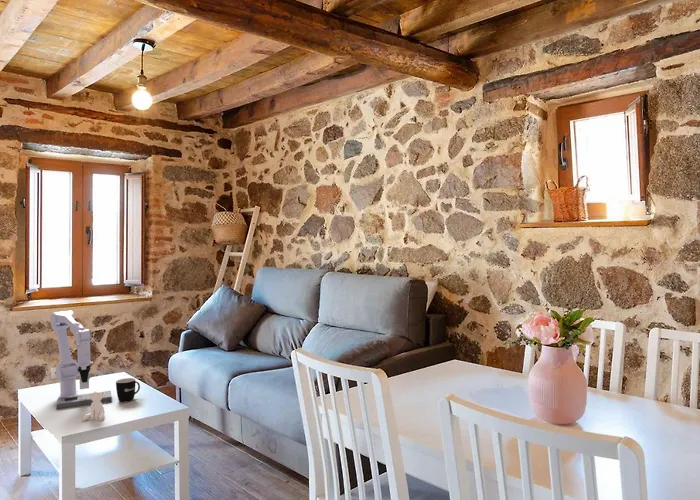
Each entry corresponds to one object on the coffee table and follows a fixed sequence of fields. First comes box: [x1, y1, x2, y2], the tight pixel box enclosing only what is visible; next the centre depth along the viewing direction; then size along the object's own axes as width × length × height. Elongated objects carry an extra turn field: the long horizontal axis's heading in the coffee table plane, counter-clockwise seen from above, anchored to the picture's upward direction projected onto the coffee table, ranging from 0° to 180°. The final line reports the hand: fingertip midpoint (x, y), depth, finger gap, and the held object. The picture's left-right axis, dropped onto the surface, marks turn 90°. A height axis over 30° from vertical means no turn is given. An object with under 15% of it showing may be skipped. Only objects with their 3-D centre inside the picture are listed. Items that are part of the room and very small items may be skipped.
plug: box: [78, 373, 91, 390], centre depth 262 cm, size 4×5×7 cm
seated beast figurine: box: [81, 390, 105, 422], centre depth 238 cm, size 10×9×12 cm
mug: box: [115, 377, 141, 403], centre depth 265 cm, size 12×9×10 cm
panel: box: [56, 390, 113, 410], centre depth 262 cm, size 12×24×3 cm, turn 116°
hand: (84, 381), depth 262 cm, fingers closed on plug, 4 cm apart
